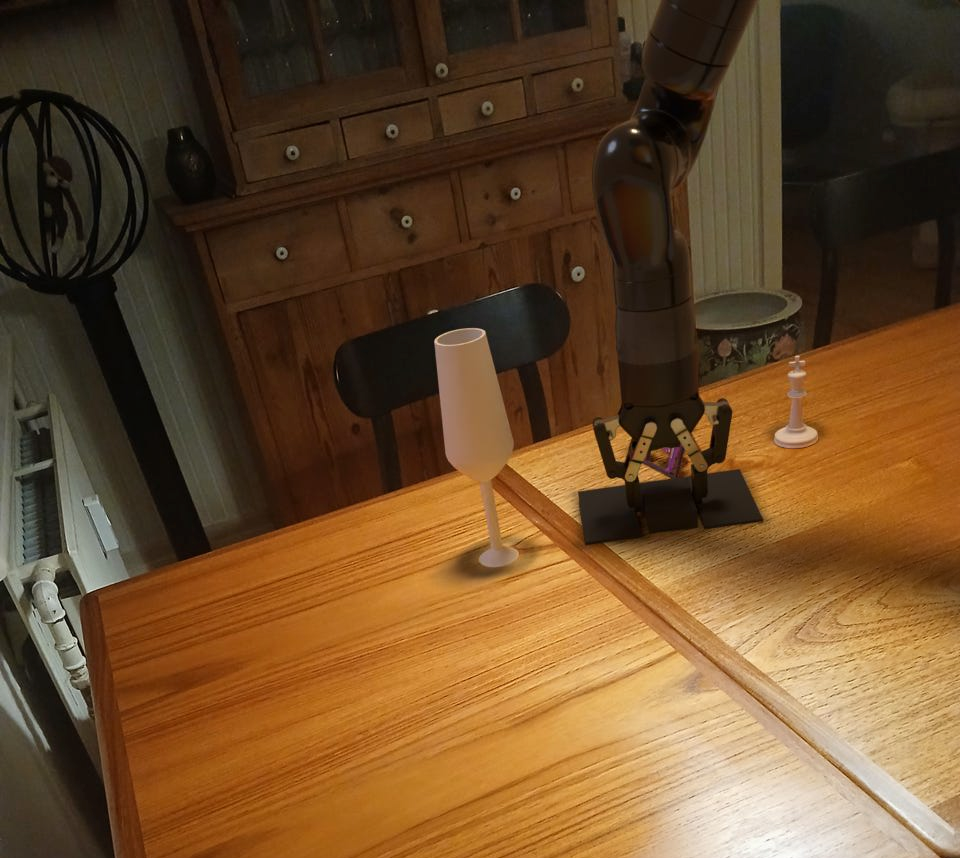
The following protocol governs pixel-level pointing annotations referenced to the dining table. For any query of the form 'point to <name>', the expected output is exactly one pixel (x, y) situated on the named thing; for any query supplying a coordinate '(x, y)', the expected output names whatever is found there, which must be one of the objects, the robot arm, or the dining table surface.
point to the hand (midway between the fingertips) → (667, 504)
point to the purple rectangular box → (673, 454)
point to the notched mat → (608, 506)
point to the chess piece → (796, 414)
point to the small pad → (668, 505)
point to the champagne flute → (475, 422)
